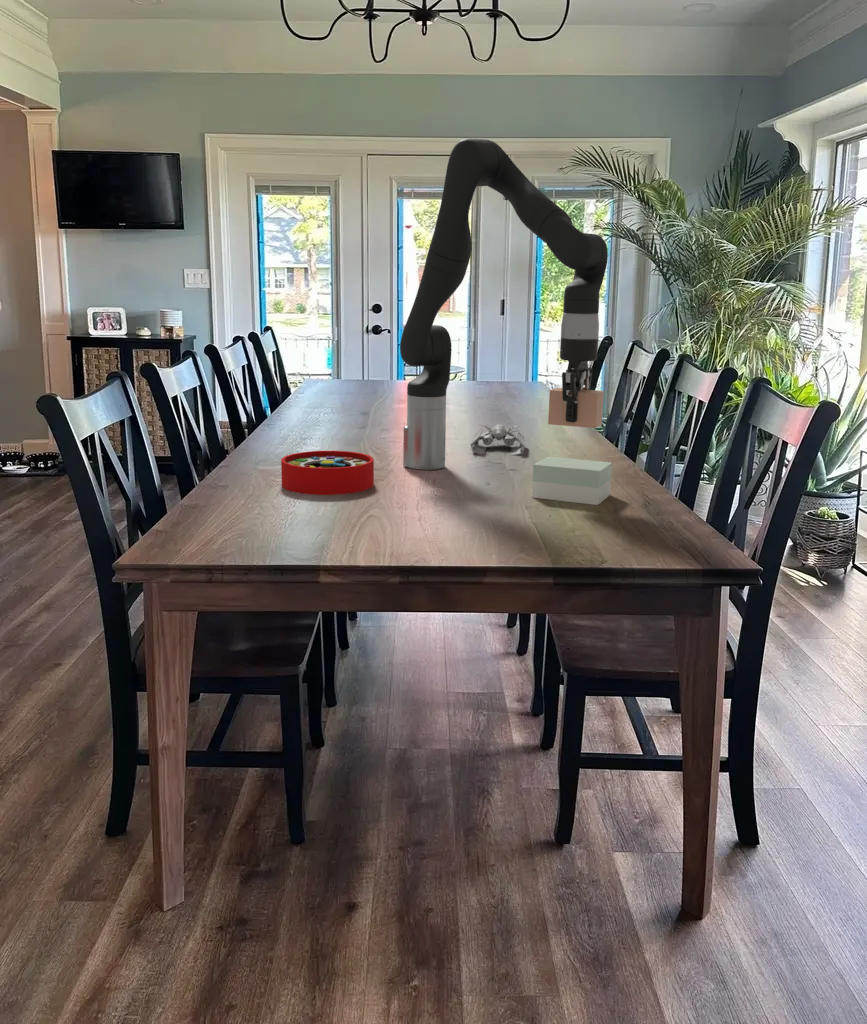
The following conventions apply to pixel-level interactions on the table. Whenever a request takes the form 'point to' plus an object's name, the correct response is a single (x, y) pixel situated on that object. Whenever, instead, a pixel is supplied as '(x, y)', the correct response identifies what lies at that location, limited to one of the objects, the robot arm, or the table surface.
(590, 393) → the terracotta brick
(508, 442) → the spaceship toy
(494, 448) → the table surface
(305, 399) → the table surface
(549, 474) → the green and white block
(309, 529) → the table surface
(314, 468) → the toy clock
